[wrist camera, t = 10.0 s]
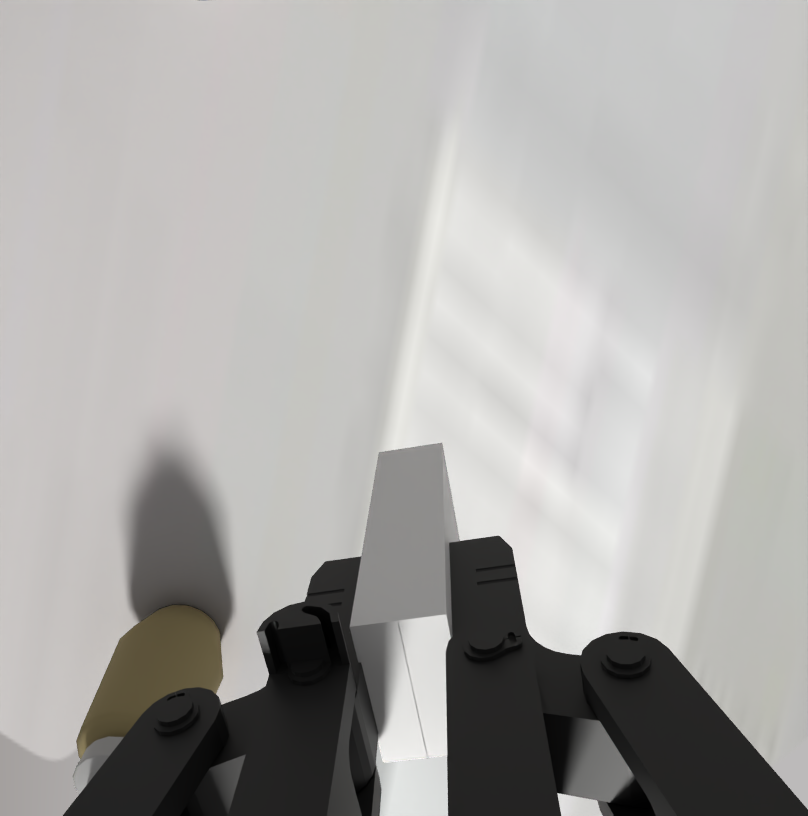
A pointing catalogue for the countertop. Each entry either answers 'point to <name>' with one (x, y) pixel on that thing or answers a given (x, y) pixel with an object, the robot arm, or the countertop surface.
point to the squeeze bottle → (147, 678)
